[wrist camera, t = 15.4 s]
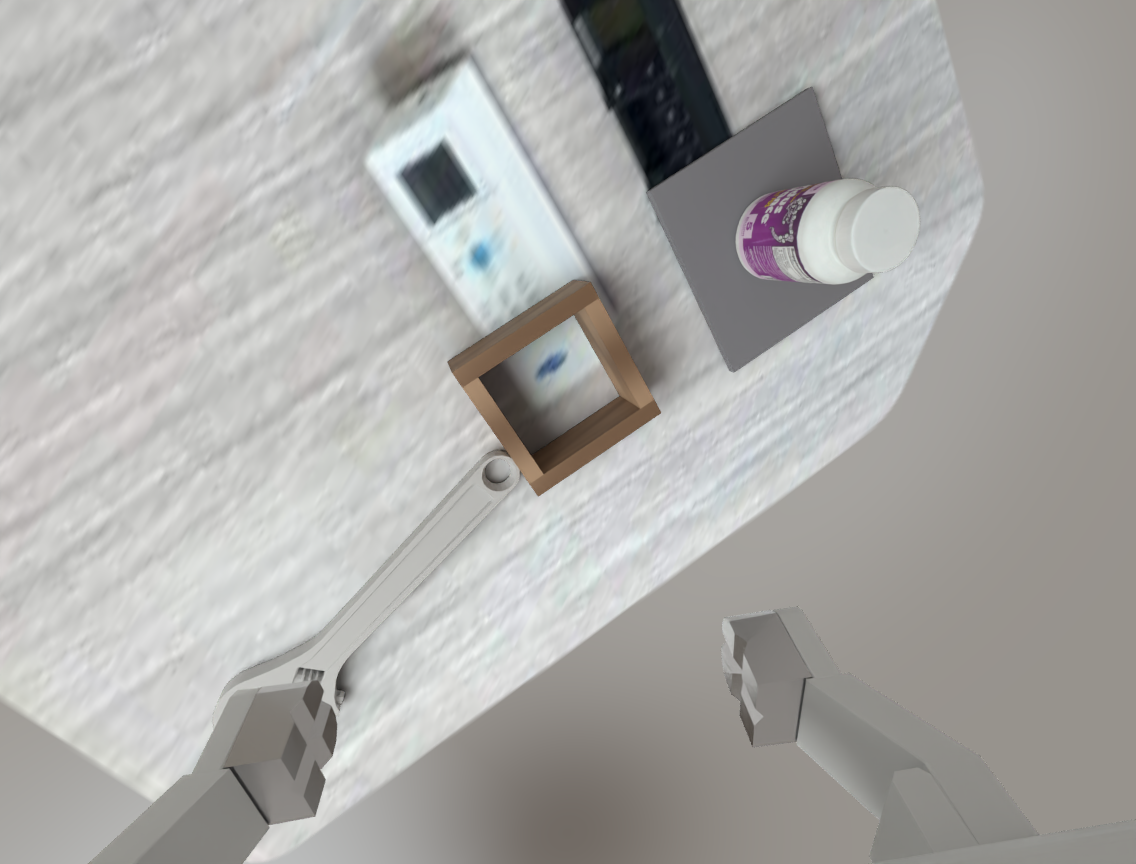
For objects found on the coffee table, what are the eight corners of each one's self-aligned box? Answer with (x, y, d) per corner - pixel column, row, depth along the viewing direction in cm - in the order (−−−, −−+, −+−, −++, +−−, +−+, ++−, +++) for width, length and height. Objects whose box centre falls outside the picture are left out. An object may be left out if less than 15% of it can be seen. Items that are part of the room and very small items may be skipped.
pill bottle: (770, 172, 35) (897, 141, 26) (819, 232, 37) (951, 222, 28) (715, 242, 35) (821, 236, 26) (766, 297, 37) (880, 309, 28)
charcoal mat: (646, 192, 34) (650, 190, 33) (805, 89, 34) (812, 86, 34) (729, 370, 39) (734, 372, 38) (867, 277, 39) (873, 277, 39)
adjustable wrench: (495, 437, 36) (499, 446, 34) (557, 501, 39) (564, 512, 37) (201, 704, 35) (191, 725, 34) (283, 751, 38) (278, 772, 36)
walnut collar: (447, 361, 33) (451, 372, 30) (572, 280, 34) (590, 281, 31) (526, 475, 37) (538, 496, 33) (639, 399, 37) (661, 412, 34)
